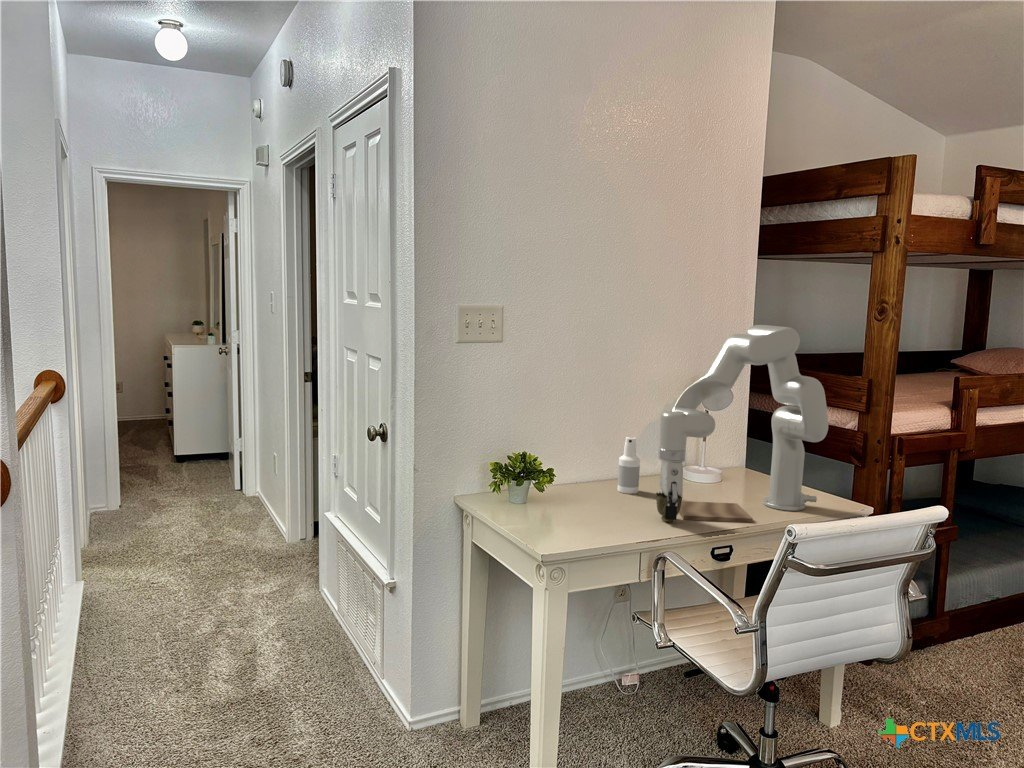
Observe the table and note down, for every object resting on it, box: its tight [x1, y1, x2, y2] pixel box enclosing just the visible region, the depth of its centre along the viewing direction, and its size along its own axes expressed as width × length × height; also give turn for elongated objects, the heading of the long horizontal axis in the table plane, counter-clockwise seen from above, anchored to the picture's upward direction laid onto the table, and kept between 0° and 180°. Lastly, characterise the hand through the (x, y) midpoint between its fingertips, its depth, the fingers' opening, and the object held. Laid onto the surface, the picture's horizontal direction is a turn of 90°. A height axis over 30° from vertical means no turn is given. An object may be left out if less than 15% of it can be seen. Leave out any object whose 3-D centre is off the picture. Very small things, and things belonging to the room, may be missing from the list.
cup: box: [655, 491, 683, 523], centre depth 218 cm, size 8×7×8 cm
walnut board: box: [678, 500, 754, 523], centre depth 229 cm, size 20×16×1 cm
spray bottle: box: [616, 436, 641, 495], centre depth 250 cm, size 7×7×18 cm
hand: (667, 515), depth 219 cm, fingers closed on cup, 6 cm apart
